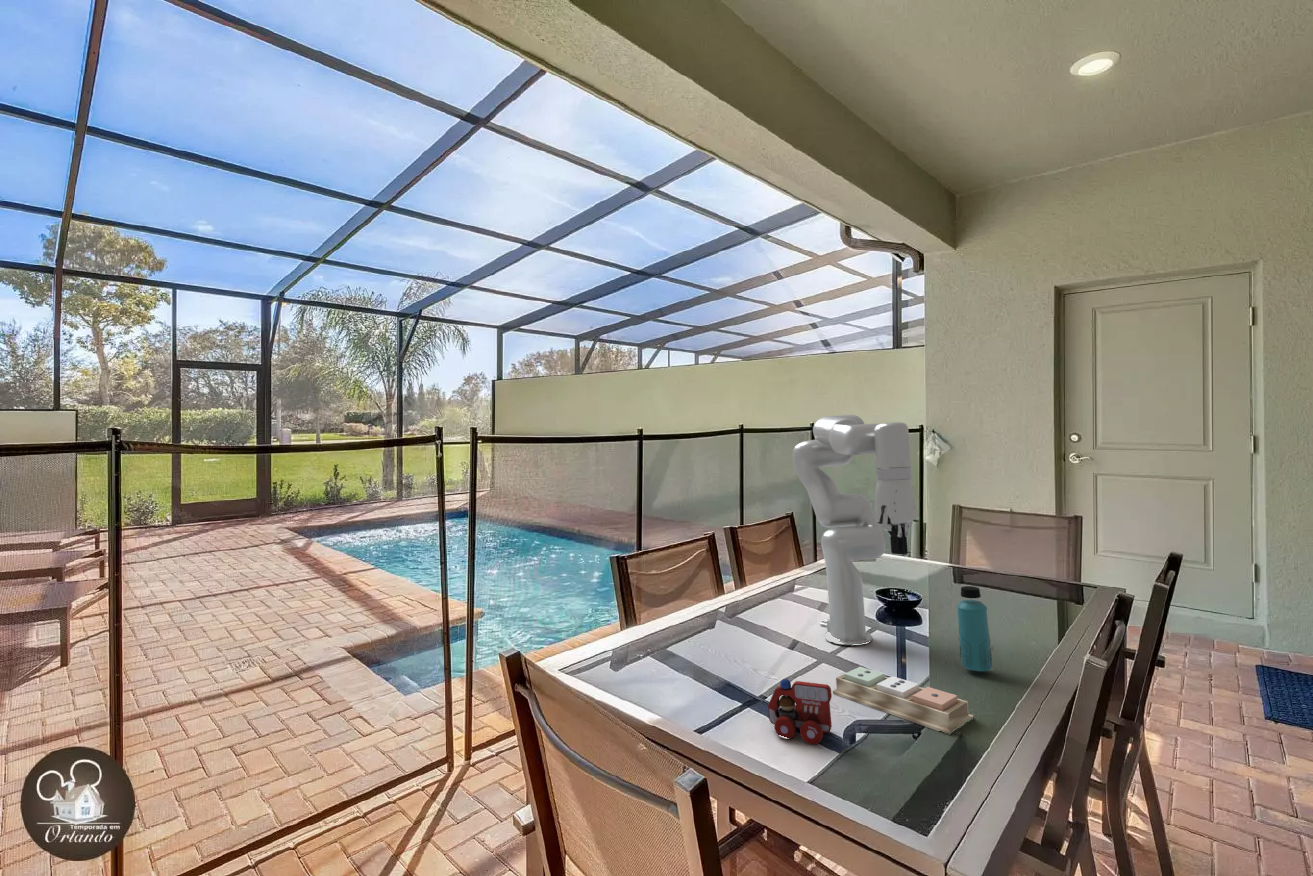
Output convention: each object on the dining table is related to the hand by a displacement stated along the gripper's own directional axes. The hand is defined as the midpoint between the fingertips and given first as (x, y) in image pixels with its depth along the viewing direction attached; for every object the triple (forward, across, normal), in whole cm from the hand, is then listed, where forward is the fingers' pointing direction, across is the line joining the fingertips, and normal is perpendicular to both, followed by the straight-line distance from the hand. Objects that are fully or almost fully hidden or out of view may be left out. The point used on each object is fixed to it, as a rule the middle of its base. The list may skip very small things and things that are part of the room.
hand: (899, 553), depth 136 cm
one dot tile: (+28, +14, +14) cm, 34 cm away
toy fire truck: (+29, +38, 0) cm, 48 cm away
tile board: (+29, +14, +6) cm, 33 cm away
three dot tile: (+28, +14, +6) cm, 32 cm away
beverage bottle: (+29, -14, +9) cm, 34 cm away
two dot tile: (+28, +14, -2) cm, 32 cm away
